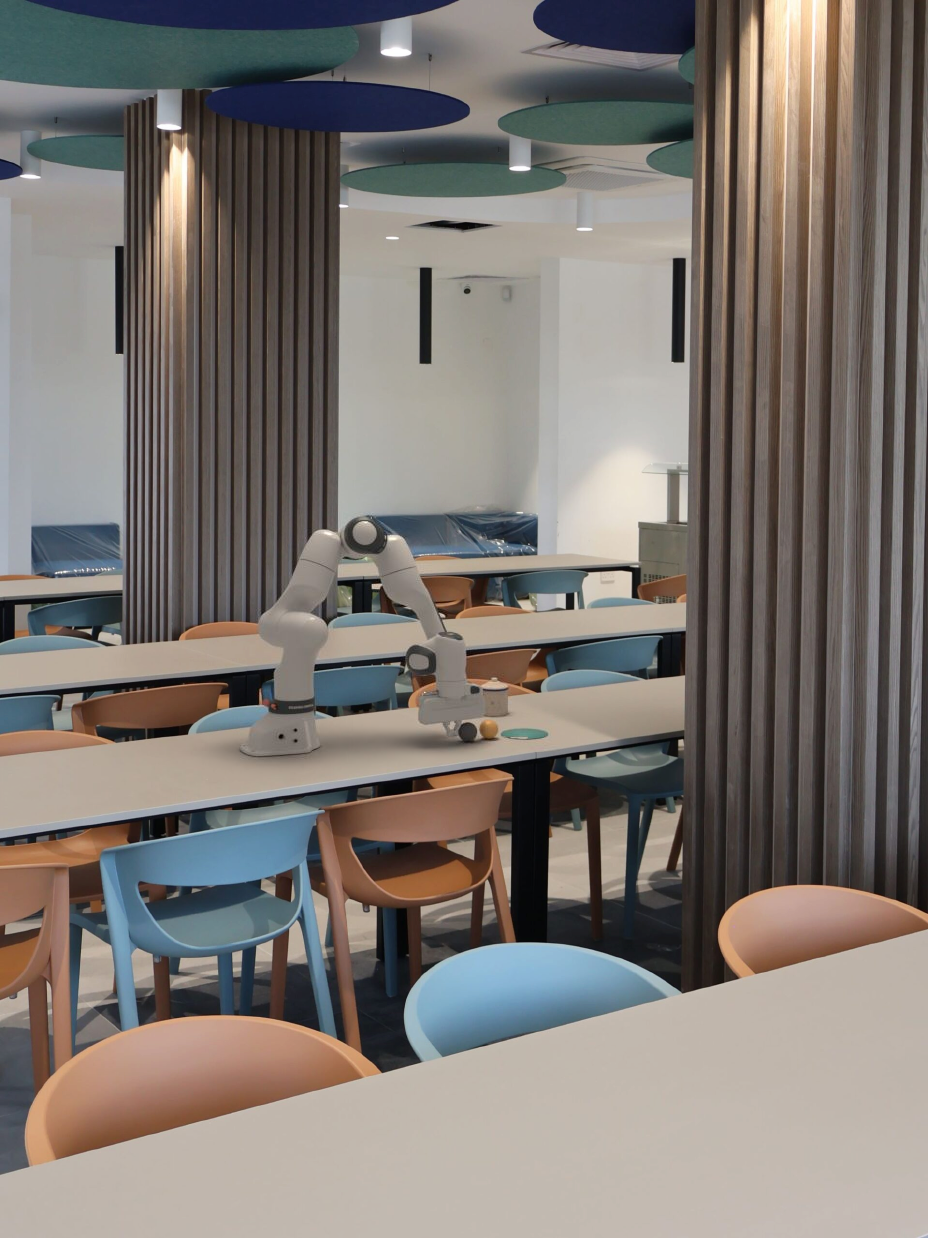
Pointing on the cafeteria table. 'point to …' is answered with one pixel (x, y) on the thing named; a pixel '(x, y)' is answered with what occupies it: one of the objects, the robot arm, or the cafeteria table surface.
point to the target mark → (525, 733)
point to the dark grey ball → (467, 731)
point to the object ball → (488, 729)
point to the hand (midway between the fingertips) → (452, 736)
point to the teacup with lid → (495, 698)
